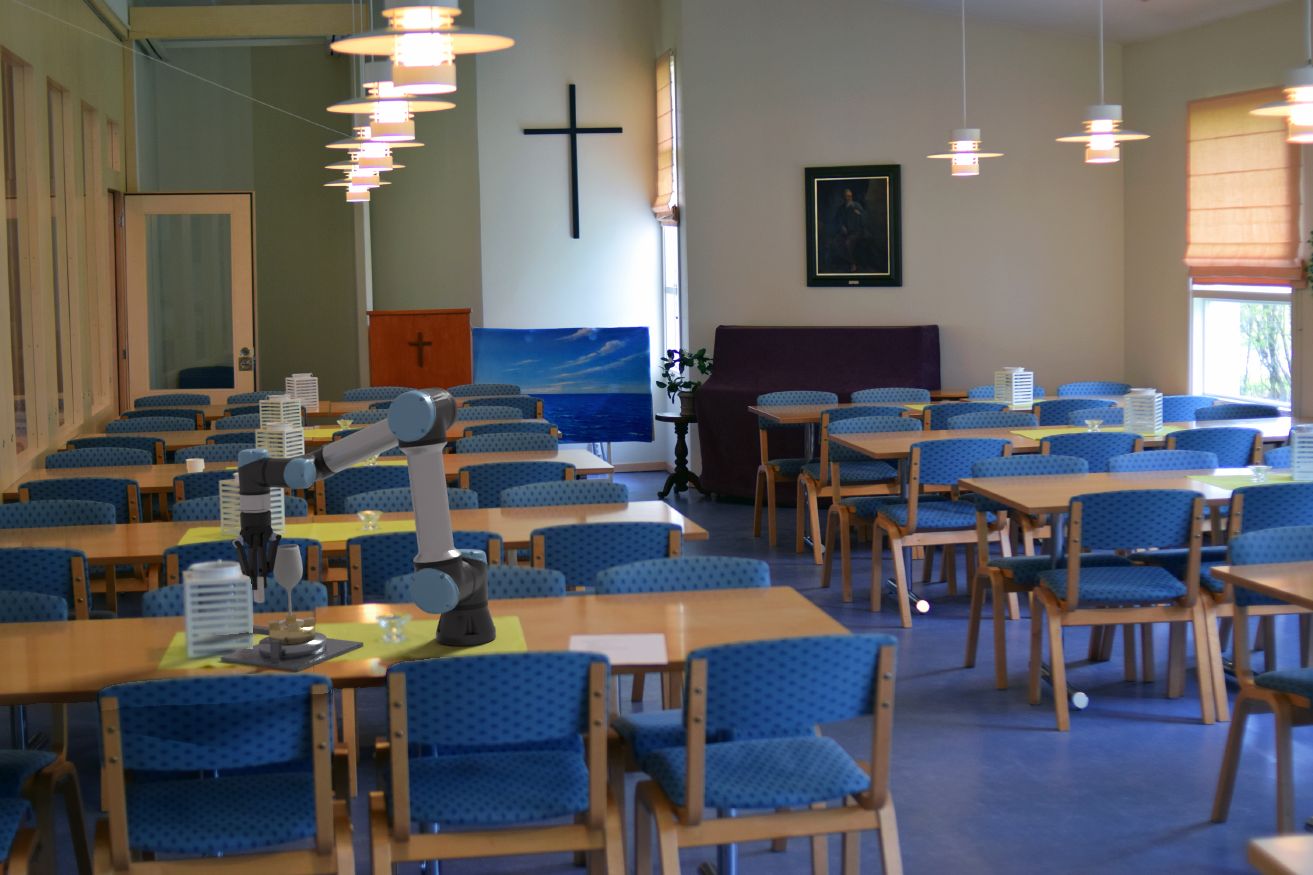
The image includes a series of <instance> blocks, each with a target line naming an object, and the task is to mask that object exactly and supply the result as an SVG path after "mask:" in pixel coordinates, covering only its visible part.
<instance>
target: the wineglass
mask: <svg viewBox="0 0 1313 875" xmlns="http://www.w3.org/2000/svg"><path fill="white" fill-rule="evenodd" d="M303 570H304V569H303V560H302V556H301V551H300V546H299V545H298V544H281V545H278V549H277V554H276V560H275V565H274V571H273V572H272V573H273V577H274V579H275V581H276V582H277V584H279V585H280V586H281V587H283V588H284V589H285V590H286V592H287V599H288V600H287V602H288V604H287V605H288V616H289V615H293V614H292V611H293V610H292V596H291V595H292V589H293V588H294V587H295V586H297V584H299V582H300V581H301V579H302V577H303V572H304V571H303ZM296 621H304V619H301V618H296ZM283 622H286V619H283V620H279V623H283Z"/></svg>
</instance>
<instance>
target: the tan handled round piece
mask: <svg viewBox="0 0 1313 875" xmlns="http://www.w3.org/2000/svg"><path fill="white" fill-rule="evenodd" d="M284 617H285V618H284V620H286V622H283V623H279V621H280V620H268V626H264V625H255V624H252V625H253V635H261V636H262V635H263V636H267V637H268V636H269V641H270V642H271V641H272V640H281V644H298V643H303V642H308V641H311V640H313V639H314V638H315V637H316V633H315V632H316V621H315V620H316V619H315V617H314V616H313V617H311V616H310V617H303V620H304V621H296V619H297V616H296V614H292V615H289V614H288V615H285V616H284Z"/></svg>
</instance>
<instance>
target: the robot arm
mask: <svg viewBox="0 0 1313 875" xmlns="http://www.w3.org/2000/svg"><path fill="white" fill-rule="evenodd" d="M386 416H387V417H386V418H384V419H382V420H379V421H377V422H374V423H373V424H371V425H369V426H367V427H364V428H362V429H359V430H357V431H356V432H354V433H351V434H349V435H347V436H345V437H342V438H340V439H337V440H335V441H334V442H332V443H329V444H327V445H324V446H323V447H320V448H318V449H316V450H314V451H312V452H309V453H305V454H300V455H297V456H291V457H271V456H270V453H269V451H268V449H267V448H247V449H242V450H240V451H239V452H238V454H237V456H238V457H237V473H238V474H237V476H238V487H239V490H238V492H239V496H238V497H239V498H238V499H239V509H240V510H241V511H240V512H239V523H240V531H239V536H238V537H236V538H235V539H232V540H231V542H230V544H231V545H232V546H233V548H234V549H235V552H236V555H237V556H236V557H237V560H238V564H239V567H240V570H241V573H242V575H243V576H244V577H245V576H246V577H249V580H250V579H251V584H252V589H251V590H252V591H253V602H254V603H258V604H262V603H265V589H266V588H267V586H268V583H267V582H268V580H267V577H268V576H269V574H270V573H274V572H273V571H274V565H275V560H276V554H277V549H278V546H279V543H280V542H281V540H282V537H283V536H282V534H279V533H276V532H274V529H273V526H272V511H271V510H270V509H271V508H272V507H271V506H272V505H271V504H272V501H271V499H272V498H271V488H275V489H276V488H280V489H294V490H300V489H301V490H302V489H309V488H310V487H312V485H313V484H314V483H315V482H319V481H321V482H322V481H324V480H327V479H329V478H331V477H333V476H334V475H335V474H337V473H339V472H341V471H345V470H346V469H348V468H351V467H353V466H355V465H357V464H359V463H362V462H364V461H366V460H369V459H370V458H373V457H375V456H377V455H379V454H382V453H384V452H387V451H389V450H391V449H394V448H396V447H398V449H399V451H401V452H403V453H404V454H405V456H406V462H407V470H408V471H407V472H408V477H409V478H408V479H409V487H410V494H411V500H412V509H413V518H414V526H415V534H416V541H417V548H418V549H417V550H418V553H417V554H416V555H415V556H414V558H413V568H414V569H413V570H414V574H413V576H412V577H411V579H410V582H409V587H408V588H409V596H410V598H411V600H412V602H413V603H414V605H415V606H416V607H417V608H419V609H420V610H421V611H423V612H424V613H425V614H426V613H427V614H430V615H440V616H439V619H438V620H439V621H438V623H437V627H436V630H435V641H436V642H437V643H439V644H442V645H445V646H454V647H455V646H456V647H458V646H459V647H464V646H465V647H466V646H467V647H468V646H475V645H482V644H486V643H490V642H492V641H494V640H495V639H496V638H497V630H496V626H495V622H494V621H493V617H492V614H491V612H490V609H489V591H488V586H489V585H488V561H487V554H486V552H485V551H484V550H482V549H476V548H475V549H472V548H469V549H468V548H456V547H455V545H454V544H455V543H454V537H453V528H452V527H453V526H452V520H451V512H450V504H449V496H448V490H447V489H448V488H447V481H446V471H445V464H444V462H445V461H444V456H443V449H444V448H445V446H446V445H447V444H448V437H447V431H449V430H450V429H452V427H453V426H454V425H455V423H456V422H457V419H458V416H459V406H458V403H457V401H456V399H455V397H454V396H453V395H452V393H450V392H449V391H448V390H446V389H443V388H442V387H441V388H440V387H428V388H421V389H411V390H408V391H406V392H403V393H402V394H399V395H398V396H397V397H395V398H394V400H393V401H392V402H391V403H390V406H389V408H388V410H387V415H386ZM269 540H270V541H269ZM268 542H269V544H268ZM244 543H245V545H246V550H247V555H246V551H245V548H244V546H243V545H244Z"/></svg>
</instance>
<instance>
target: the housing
mask: <svg viewBox="0 0 1313 875" xmlns="http://www.w3.org/2000/svg"><path fill="white" fill-rule="evenodd" d="M315 633H316V637H315V638H314V639H313V640H311V641H308V642H303V643H298V644H281V640H272V641H271V642H270V641H269V636H268V635H267V636H265V637H262V639H260V640H259V641H258V644H255V645H252V646H253V649H245V648H243V649H240V650H237V651H234V652H231V653H229V654H225V655H223V656H220V661H221V662H226V663H233V664H240V665H248V666H255V667H262V668H269V669H278V670H285V671H292V672H301V671H304V670H306V669H308V668H311V667H314V666H316V665H319V664H321V663H324V662H326V661H330V660H332V659H334V658H337V657H340V656H343V655H345V654H347V653H350V652H353V651H355V650H358V649H360V648H363V647H364V642H361V641H354V640H346V639H339V638H338V639H337V638H336V639H335V638H329V637H327V636H326V634H324V633H322V632H317V631H315Z"/></svg>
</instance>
